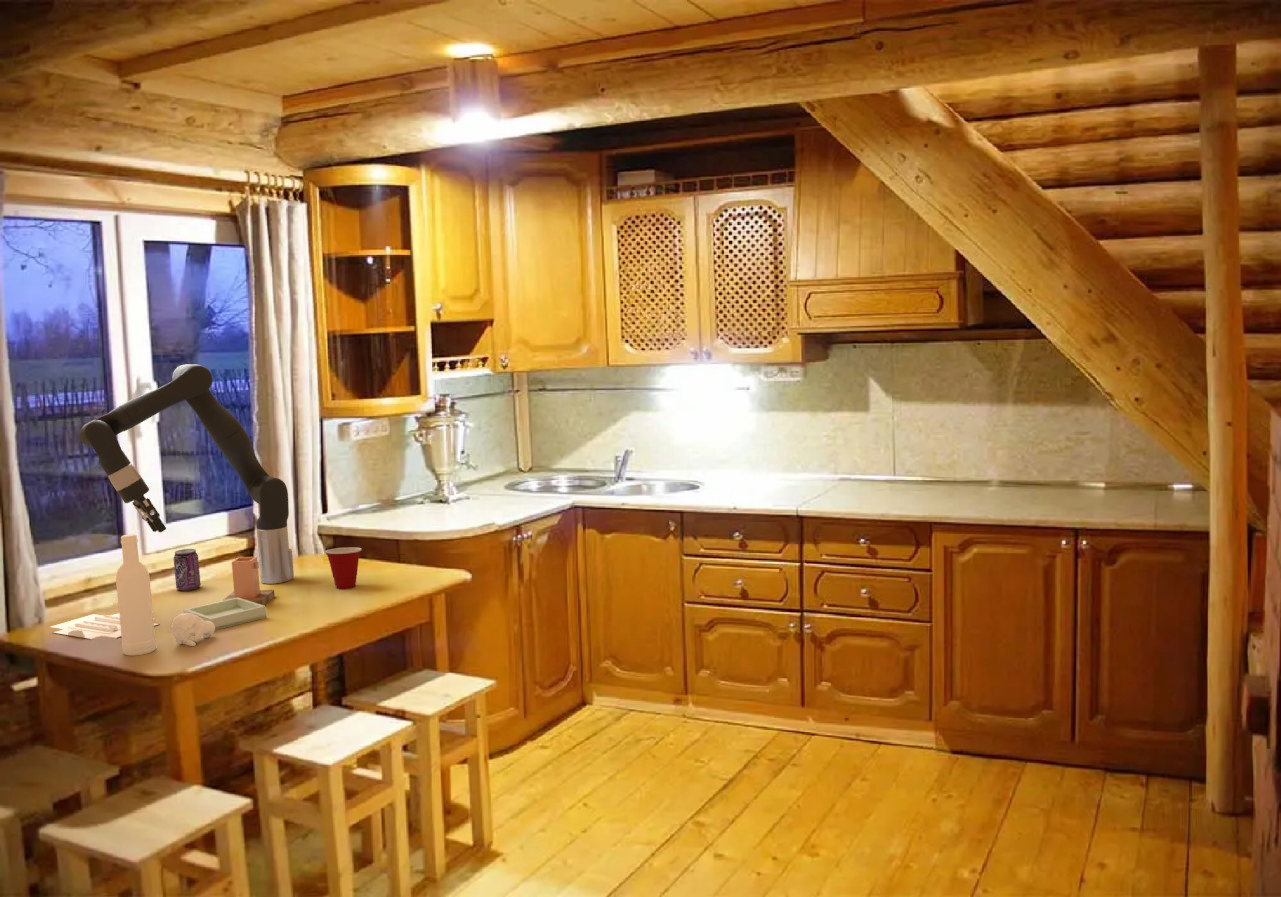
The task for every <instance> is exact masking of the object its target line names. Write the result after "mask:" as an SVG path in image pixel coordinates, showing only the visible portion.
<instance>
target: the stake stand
mask: <svg viewBox="0 0 1281 897" xmlns="http://www.w3.org/2000/svg"><path fill="white" fill-rule="evenodd" d="M275 596H276V595H275V590H274V589H263V590H262V589H260V594H258V595H257V596H256V597H255V598H242V599H245V600H248V601H251V602H254V603H257V604H261V605H264V606H266V605H267V604H268V603H269V602H270V601H271V600H272V599H273V598H274V597H275ZM233 598H235V595H234V591H233V592H231V593H230V594H228V595H227V596H226V597H224V598H223V599H222V600H221V601H224V600H228V599H233Z"/></svg>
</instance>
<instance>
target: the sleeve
mask: <svg viewBox="0 0 1281 897" xmlns="http://www.w3.org/2000/svg"><path fill="white" fill-rule="evenodd" d="M259 569H260V563H259V561H258V556H243V557H241V556H240V557H237V558H235V559H234V560H232V561H231V570H232V582H233V592H234V595H235V598H237V597H238V598H255V597H256V596H257V595H258V594H260V590H261V589H260V575H259Z"/></svg>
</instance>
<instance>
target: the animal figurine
mask: <svg viewBox="0 0 1281 897" xmlns="http://www.w3.org/2000/svg"><path fill="white" fill-rule="evenodd" d="M170 630H171V632H172V636H173V637H174V639H175V642H176V643H178V644H179V645H183V644H185V645H187V646H188V647H195V646H196V645H197V644H196V642H195V641H197V640H199V639H200V638H201V637H205V638H206V639H207V638H212V637H213V634H214V632H215V631H216V630H215V625H214V623H213V622H211V621H204V620H203V619H202V618H199V616H197V615H194V614H192V613H184V612H183V613H180V614H178V615H176V616H175V617H173V620H172V622H171V625H170ZM189 636H193V639H194V640H195V641H194V640H192V639H189Z"/></svg>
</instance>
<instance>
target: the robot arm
mask: <svg viewBox="0 0 1281 897" xmlns="http://www.w3.org/2000/svg"><path fill="white" fill-rule="evenodd" d="M171 379H172V380H171V381H170V382H168V383H166V384H164V385H162V386H161V387H159V388H156V389H154V390H152V391H149V392H146V393H143V394H141V395H139V396H136V397H134V398H131V399H129V400H127V401H126V402H123V403H122V404H120V405H118V406H117V407H115V408H114V409H112V410H111V411H109V412H108V413H105V414H103V415H102V416H101V415H100V416H99V417H98V418H95V419H92V420H90V421H89V422H87V423H85V424H84V425H83V426H81V429H80V430H79V440H80V441H81V442H82V443H83V444H84V445H85V446H88V447H92V449H93V450H94V452H95V453H96V455H97V457H98V463H99V464H100V466H101V468H102V470H103V471H104V473H105V474H106V475H107V477H108V479H109V481H110V483H111V484H112V486H113V487H114V489H115V491H116V492H117V494H118V495H119V496H120V498H121V499H122V501H123V503H124V504H129V503H132V505H133V506H134V508H135V510H136V511H137V513H138V514H139V516H140V517H141V519H142V520H143V521H144V522H146V523H147V524H148V526H149V527H150V529H151V531H152V532H154V533H156V532H158V533H163V532H165V531H166V530H167V527H166V525H165V524H164V522H163V521H162V519H161V518H160V516H161V515H160V513H159V512H158V510H157V508H156V506H154V504H153V503H152V501H151V499H150V498H149V497H148V498H146V497H145V495H146V494H148V492H149V491H150V488H149V487H148V485H147V484H146V482H145V480H144V479H143V477H142V476H141V474H140V472H139V471H138V469H136V467H135V466H134V465H133V464H132V463H131V461H130V460H129V458H128V457H127V455H126V454H125V452H124V451H123V450H122V449H123V448H122V447H121V446H120V442H119V440H118V438H117V435H119V434H121V433H123V432H126V431H127V430H130V429H132V428H134V427H137V425H139V424H142V423H143V422H145V421H147V420H149V419H150V418H151V417H154V416H155V415H157V414H159V413H161V412H164V411H165V410H167V409H168V408H170V407H172V406H175V405H177V404H179V403H181V402H184V401H185V402H186V403H187V404H188V405H189V406H190V407H191V408H192V409H193V411H194V413H195V414H196V415H197V416H198V418H199V420H200V422H201V424H202V425H203V426H204V428H205V430H206V432H208V434H209V435H210V437H211V439H212V440H213V442H214V443H215V445H216V446H217V447H218V449H219V450H220V452H221V453H222V454H223V456H224V457H225V459H227V461H228V462H229V464H230V465H231V466H232V468H233V469H234V470H235V472H236V473H237V474H238V476H239V478H240V479H241V481H242V483H243V484H244V487H245V488H246V490H247V492H248V494H249V496H250V497H251V499H252V500H253V501H254V502H255V503H257V504H258V505H259V512H260V513H259V518H257V519H256V521H255V523H256V526H255V527H256V538H257V548H258V563H259V572H260V575H259V578H260V583H262V584H267V585H268V584H270V585H272V584H281V583H286V582H289V581H291V580H294V579H295V574H294V561H293V560H294V559H293V550H292V549H291V548H290V545H289V544H290V543H289V542H290V541H289V532H288V520H289V513H290V512H289V511H290V510H289V509H290V508H289V506H290V505H289V491H288V488H287V485H286V483H285V481H283V479H281V478H278V477H274V476H270V474H269V473H267V471H266V470H265V469H264V467H263V466H262V464H261V463H260V462H259V461H258V458H257V456H256V453H255V450H254V446H253V443H252V441H251V438H250V436H249V435H248V433H247V431H246V430H245V428H244V427H243V426H242V424H241V422H240V421H239V420H238V419H237V418H236V417H235V416H234V414H232V413H231V412H230V411H229V410H228V409H227V408H225V406H224V405H222V404H221V403H220V401H218V400H217V399H216V398H215V396H214V394H213V393H212V391H211V390H210V389H211V387H212V385H213V375H212V373H211V371H210V369H208V368H207V367H206V366H203V365H199V364H192V363H188V364H182V365H178V366H177V367H176V368H175V369H174V371H173V373H172V378H171Z"/></svg>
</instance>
